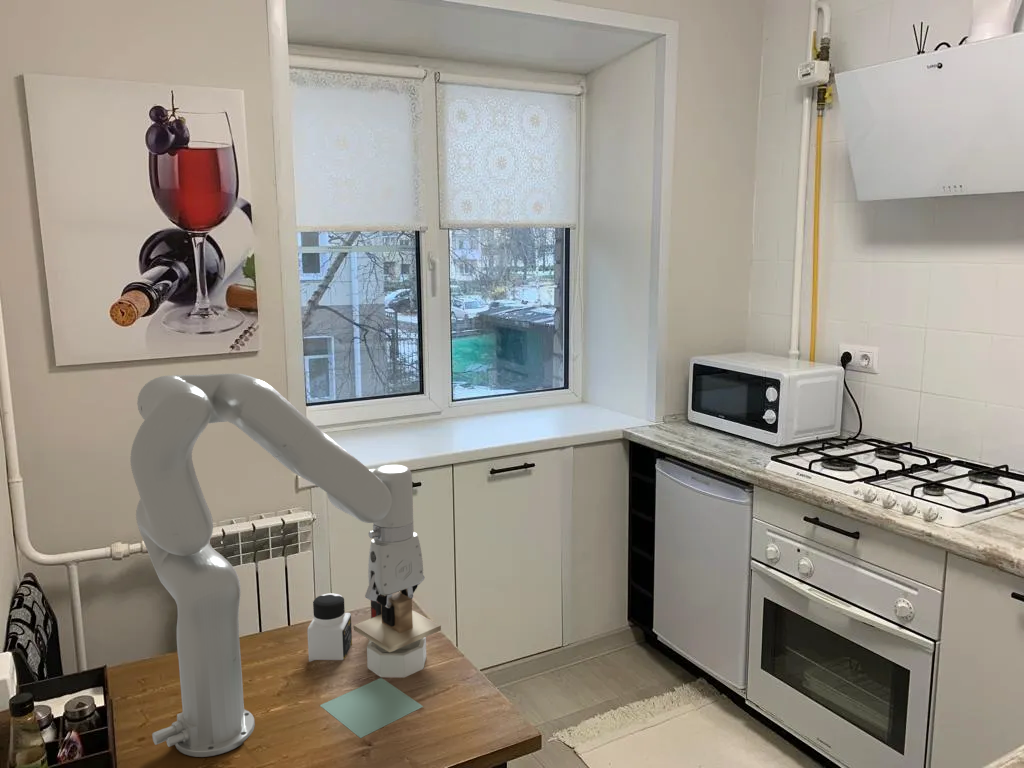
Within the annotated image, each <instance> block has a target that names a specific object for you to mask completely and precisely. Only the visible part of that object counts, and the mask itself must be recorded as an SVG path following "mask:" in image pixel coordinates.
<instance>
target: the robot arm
mask: <svg viewBox="0 0 1024 768" xmlns="http://www.w3.org/2000/svg"><path fill="white" fill-rule="evenodd" d="M136 404H137V410H138V411H139V414H140V416H141V418H142V419H143V422H142V424H141V425H140V426H139V429H138V430H137V433H136V434H135V437H134V440H133V442H132V446H131V450H130V458H129V459H130V467H131V468H130V469H131V473H132V477H133V479H134V483H135V485H136V486H135V487H136V489H137V492H138V495H139V498H140V499H139V501H138V503H137V507H136V510H135V511H136V513H135V516H136V517H135V518H136V525H137V527H138V529H139V532H140V536H141V537H142V540H143V543H144V545H145V548H146V551H147V553H148V557H149V558H150V560H151V563H152V565H153V568H154V570H155V573H156V575H157V577H158V579H159V582H160V583H161V584H162V585H163V587H164V588H165V589H166V591H167V592H168V593H169V594H170V596H171V597H172V599H173V600H174V601H175V603H176V606H177V608H176V609H177V621H176V622H177V623H176V646H177V647H176V649H177V657H178V658H177V659H178V668H179V670H178V671H179V681H180V683H179V684H180V694H181V696H180V697H181V705H182V706H181V707H182V712H179V713H177V714H176V721H173V722H172V723H171V725H170V726H168V727H165V728H161V729H159V730H157V731H154V732H152V733H151V736H152V742H153V743H154V745H155V746H156V745H159V744H161V743H163V742H166V744H167V747H168V748H171V747H173V746H175V748H176V750H178V752H179V753H182V754H183V755H187V756H189V757H196V758H198V757H199V758H204V757H205V758H207V757H215V756H218V755H222V754H224V753H225V754H226V753H228V752H230V751H233V750H235V749H237V748H238V747H240V746H242V744H244V742H245V741H246V740H247V739H248V738H249V737H251V735H252V734H253V732H254V730H255V726H256V723H255V717H254V715H253V713H251V712H250V711H249V710H248V709H245V705H244V704H245V702H244V687H243V673H242V671H243V669H242V659H241V658H242V656H241V643H240V629H239V622H240V621H239V617H240V616H239V615H240V614H239V612H240V611H239V610H240V602H241V582H240V578H239V575H238V573H237V571H236V569H235V568H234V566H233V565H232V564H231V563H230V562H229V560H227V559H226V558H225V557H224V556H223V555H222V554H220V552H218V551H216V550H215V549H214V548H213V547H212V544H211V542H210V541H211V538H212V536H213V532H214V531H213V530H214V521H213V517H212V513H211V510H210V508H209V506H208V503H207V501H206V499H205V498H206V497H205V496H204V493H203V491H202V487H201V485H200V483H199V480H198V476H197V473H196V471H195V465H194V462H193V450H194V447H195V444H196V443H197V441H198V439H199V438H200V436H201V435H202V434H203V432H204V431H205V429H206V428H207V426H208V425H209V424H216V423H224V422H228V423H230V424H232V425H234V426H235V427H237V428H238V429H240V430H241V431H242V432H243V433H244V434H245V435H247V436H248V437H249V438H250V439H251V440H253V442H255V443H256V444H258V445H259V446H260V447H261V448H262V449H264V450H265V451H266V452H267V453H268V454H269V455H271V457H274V459H276V460H277V461H278V462H279V463H280V464H281V465H283V467H285V468H287V469H288V470H289V471H291V472H293V474H296V475H297V476H298V477H300V478H302V479H304V480H306V481H308V482H310V483H311V484H313V485H315V486H316V487H318V488H319V489H320V490H323V491H324V492H325V493H326V496H327V498H328V501H329V503H331V505H333V507H335V508H337V509H339V510H340V511H342V512H344V513H345V514H348V515H349V516H352V517H353V518H355V520H358V521H360V522H362V523H366V524H372V529H371V530H370V531H369V532H368V537H369V539H371V540H370V547H369V554H368V567H367V570H368V572H367V573H368V575H367V577H368V586H367V590H366V592H365V594H364V598H366V599H367V600H368V601H371V600H372V601H377V602H379V603H380V604H381V607H382V620H383V622H384V623H386V624H388V625H389V626H391V627H392V626H394V625H395V616H394V607H393V606H392V594H393V593H396V592H400V593H402V594H404V595H405V596H407V597H409V598H411V599H412V600H413V598H414V593H415V591H417V589H418V587H419V585H420V584H421V583H422V582H423V581H424V580H425V575H424V562H423V554H422V548H421V547H422V546H421V543H420V540H419V536H418V533H417V532H415V531H414V527H415V526H414V500H413V499H414V498H413V497H414V496H413V475H412V471H411V470H410V468H409V467H408V466H405V465H402V464H386V465H381V466H378V467H377V468H368V467H367V466H365V465H364V464H363V463H362V462H361V461H360V460H358V459H357V458H356V457H354V456H353V455H352V454H351V453H349V452H348V450H346V449H344V448H343V447H342V446H341V445H339V444H338V443H337V442H336V441H335V440H334V439H333V438H331V436H329V435H328V434H326V433H325V432H324V431H323V430H321V429H320V428H319V427H318V426H317V425H315V424H314V423H313V422H312V421H311V420H310V419H309V418H308V417H307V416H306V415H305V414H303V413H302V412H301V411H300V410H298V408H297V407H295V405H293V404H292V403H291V402H290V401H289V400H287V398H286V397H285V396H284V395H282V394H281V393H280V392H279V391H278V390H277V389H275V388H274V387H273V386H272V385H271V384H269V383H267V382H266V381H264V380H262V379H259V378H256V377H253V376H251V375H247V374H244V373H216V374H214V373H213V374H184V375H183V374H180V375H179V374H176V375H175V374H174V375H162V376H158V377H155V378H153V379H151V380H149V381H148V382H147V383H145V384H144V386H142V387H141V389H140V391H139V393H138V396H137V403H136ZM376 590H378V592H379V594H377V593H376Z"/></svg>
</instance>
